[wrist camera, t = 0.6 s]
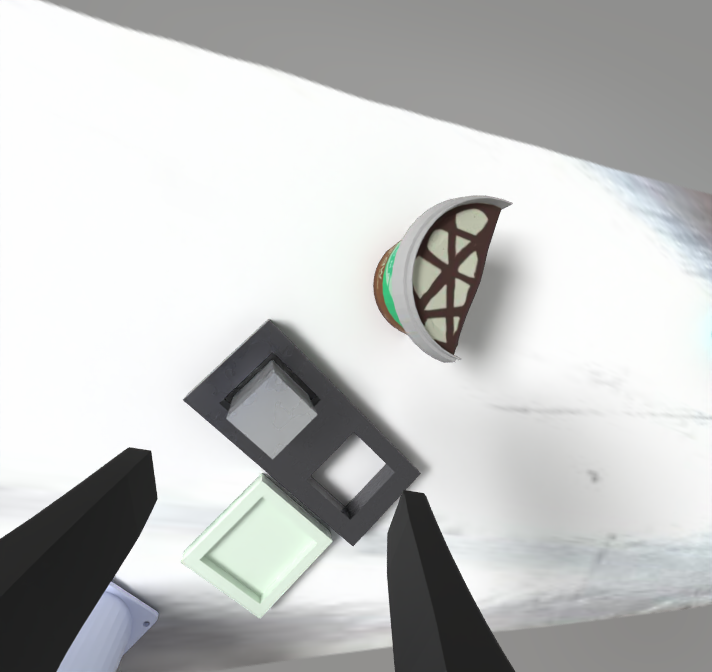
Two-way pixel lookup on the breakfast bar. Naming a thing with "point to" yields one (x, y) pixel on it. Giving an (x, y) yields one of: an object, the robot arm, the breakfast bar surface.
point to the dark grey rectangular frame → (307, 435)
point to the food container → (437, 272)
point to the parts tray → (258, 547)
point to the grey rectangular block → (271, 409)
